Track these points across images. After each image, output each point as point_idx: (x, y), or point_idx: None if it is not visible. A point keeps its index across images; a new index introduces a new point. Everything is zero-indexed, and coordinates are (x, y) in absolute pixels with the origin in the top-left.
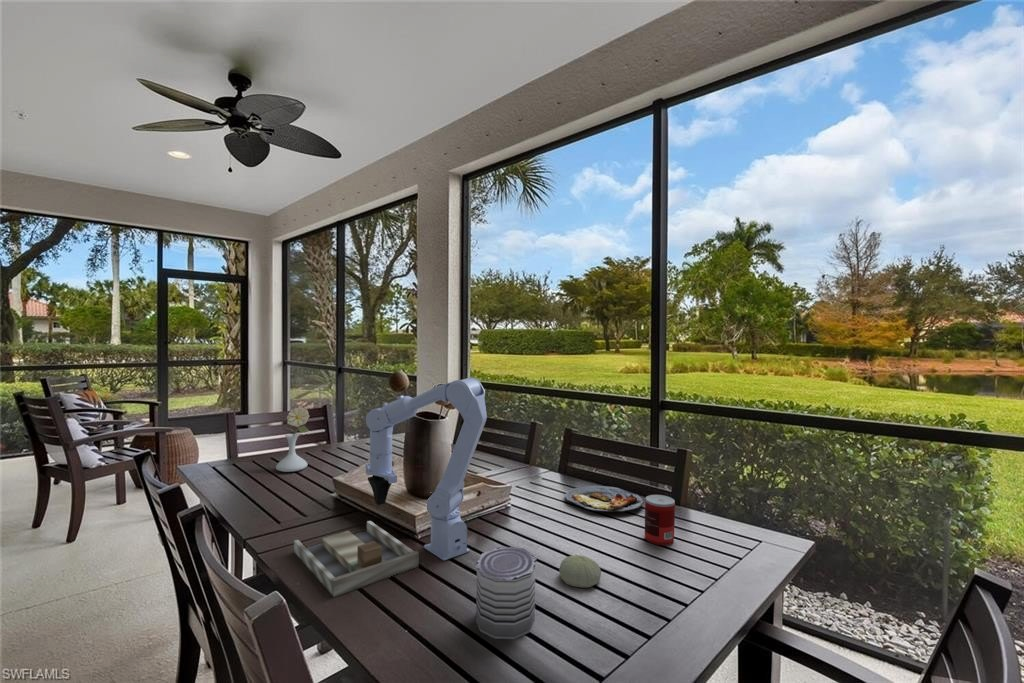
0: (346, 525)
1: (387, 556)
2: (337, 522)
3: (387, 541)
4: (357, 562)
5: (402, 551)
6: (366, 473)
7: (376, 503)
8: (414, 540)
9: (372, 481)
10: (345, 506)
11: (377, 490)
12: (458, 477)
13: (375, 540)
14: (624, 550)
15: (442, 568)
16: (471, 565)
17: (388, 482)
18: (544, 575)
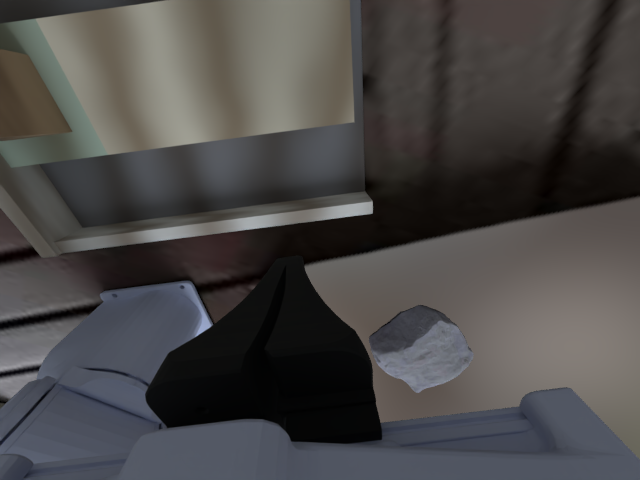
0: (460, 149)
1: (154, 188)
2: (509, 128)
3: (219, 215)
4: (22, 54)
5: (123, 228)
6: (191, 447)
7: (290, 258)
8: (244, 276)
9: (209, 358)
10: (604, 192)
11: (228, 314)
12: None
13: (280, 192)
14: None
15: (65, 277)
16: (73, 323)
17: (5, 459)
18: (16, 388)
